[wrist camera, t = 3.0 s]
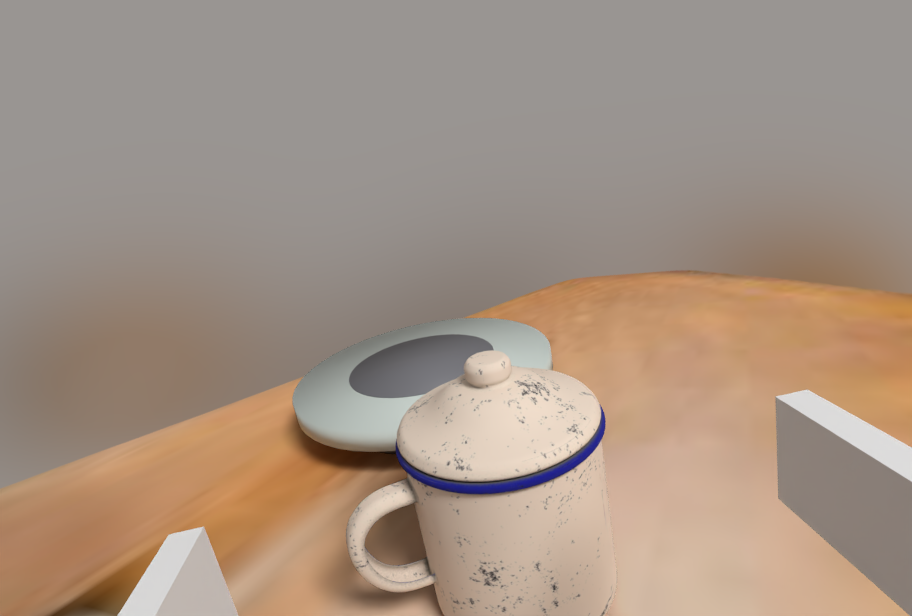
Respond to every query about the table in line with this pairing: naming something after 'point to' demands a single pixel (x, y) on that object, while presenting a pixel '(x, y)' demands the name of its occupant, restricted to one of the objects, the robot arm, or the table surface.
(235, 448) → the table surface
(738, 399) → the table surface
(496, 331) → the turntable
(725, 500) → the table surface
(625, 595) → the table surface
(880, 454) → the robot arm
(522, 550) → the teacup with lid
